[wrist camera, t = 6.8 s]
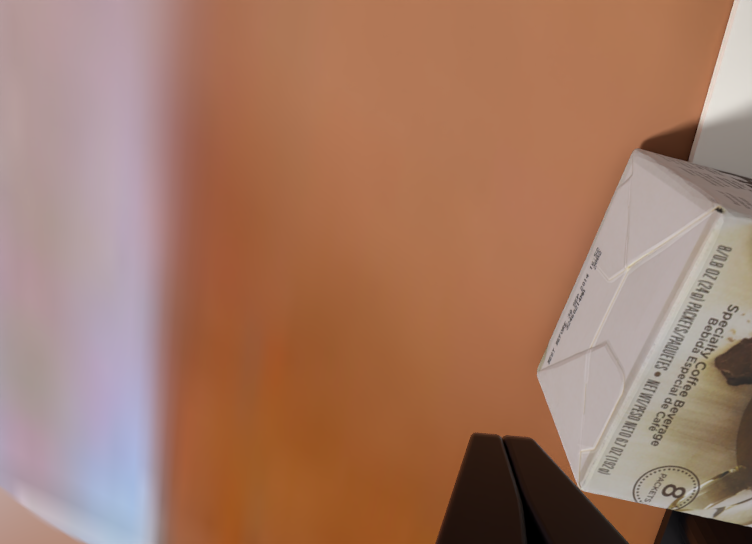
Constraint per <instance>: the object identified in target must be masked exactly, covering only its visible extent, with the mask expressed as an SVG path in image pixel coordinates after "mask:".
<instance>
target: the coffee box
mask: <svg viewBox="0 0 752 544" xmlns="http://www.w3.org/2000/svg"><path fill="white" fill-rule="evenodd" d="M537 377H538V380H539V382H540V385H541V388H542V390H543V393H544V395H545V398H546V401H547V404H548V406H549V409H550V411H551V414H552V417H553V420H554V422H555V425H556V428H557V430H558V433H559V436H560V439H561V441H562V444H563V447H564V449H565V452H566V455H567V458H568V460H569V463H570V466H571V469H572V471H573V474H574V477H575V479H576V482H577V485H578V487H579V488H580V489H581V490H583V491H585V492H590V493H594V494H600V495H605V496H609V497H614V498H618V499H623V500H627V501H632V502H637V503H642V504H647V505H651V506H655V507H660V508H665V509H671V510H675V511H679V512H685V513H688V514H693V515H698V516H702V517H706V518H713V519H716V520H720V521H724V522H730V523H735V524H740V525H743V526H749V527H752V178H748V177H744V176H741V175H737V174H733V173H730V172H726V171H722V170H718V169H714V168H711V167H707V166H702V165H698V164H694V163H691V162H687V161H684V160H680V159H676V158H672V157H668V156H664V155H661V154H657V153H653V152H650V151H646V150H642V149H635V150H633V152H632V154H631V157H630V159H629V161H628V163H627V166H626V168H625V170H624V173H623V175H622V177H621V179H620V182H619V184H618V186H617V188H616V191H615V193H614V195H613V197H612V200H611V202H610V204H609V207H608V209H607V211H606V213H605V216H604V218H603V220H602V223H601V225H600V227H599V230H598V232H597V234H596V237H595V239H594V241H593V244H592V246H591V248H590V250H589V253H588V255H587V257H586V260H585V262H584V264H583V266H582V269H581V271H580V273H579V276H578V278H577V280H576V283H575V285H574V287H573V289H572V292H571V294H570V296H569V298H568V301H567V303H566V305H565V307H564V309H563V312H562V314H561V316H560V319H559V321H558V323H557V325H556V328H555V330H554V332H553V335H552V337H551V339H550V341H549V344H548V346H547V348H546V351H545V353H544V355H543V357H542V359H541V362H540V364H539V366H538V369H537Z"/></svg>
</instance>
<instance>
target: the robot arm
mask: <svg viewBox="0 0 752 544" xmlns="http://www.w3.org/2000/svg"><path fill="white" fill-rule="evenodd" d="M436 544H629V543H628V542H627V541H626V540H625V539H624V537H623V536H622V535H621V534H620V533H619V532H618V531H617V530H616V529H615V528H614V527H613V525H612V524H611V523H610V522H609V521H608V520H607V519H606V518H605V517H604V516H603V515H602V513H601V512H600V511H599V510H598V509H597V508H596V507H595V506H594V505H593V504H592V503H591V501H590V500H589V499H588V498H587V497H586V496H585V495H584V494H583V493H582V492H581V491H580V489H579V488H578V487H577V486H576V485H575V484H574V483H573V482H572V481H571V480H570V479H569V477H568V476H567V475H566V474H565V473H564V472H563V471H562V470H561V469H560V468H559V467H558V466H557V464H556V463H555V462H554V461H553V460H552V459H551V458H550V457H549V456H548V455H547V454H546V452H545V451H544V450H543V449H542V448H541V447H540V446H539V445H538V444H537V443H536V442H535V441H534V440H533V439H531V438H529V437H520V436H509V435H506V436H504V437H502V438H501V437H500V436H499V435H496V434H486V433H473V434H472V435H471V437H470V440H469V443H468V446H467V449H466V452H465V455H464V458H463V461H462V464H461V467H460V470H459V474H458V477H457V480H456V483H455V486H454V489H453V492H452V495H451V498H450V501H449V504H448V507H447V510H446V513H445V516H444V519H443V522H442V525H441V528H440V531H439V534H438V538H437V541H436ZM654 544H752V527H749V526H743V525H740V524H735V523H730V522H724V521H720V520H716V519H713V518H706V517H702V516H698V515H693V514H688V513H685V512H679V511H675V510H671V509H666V512H665V515H664V517H663V520H662V523H661V526H660V528H659V531H658V534H657V536H656V539H655V542H654Z"/></svg>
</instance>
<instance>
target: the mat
mask: <svg viewBox="0 0 752 544" xmlns="http://www.w3.org/2000/svg"><path fill="white" fill-rule="evenodd" d="M688 162H691V163H694V164H698V165H702V166H707V167H711V168H714V169H718V170H722V171H726V172H730V173H733V174H737V175H741V176H744V177H748V178H752V0H734V3H733V7H732V10H731V14H730V17H729V21H728V24H727V27H726V31H725V34H724V38H723V41H722V45H721V48H720V52H719V55H718V59H717V62H716V66H715V69H714V73H713V76H712V80H711V83H710V86H709V90H708V93H707V97H706V100H705V104H704V107H703V111H702V114H701V118H700V121H699V125H698V128H697V132H696V135H695V139H694V142H693V145H692V149H691V152H690V156H689V159H688Z"/></svg>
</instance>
